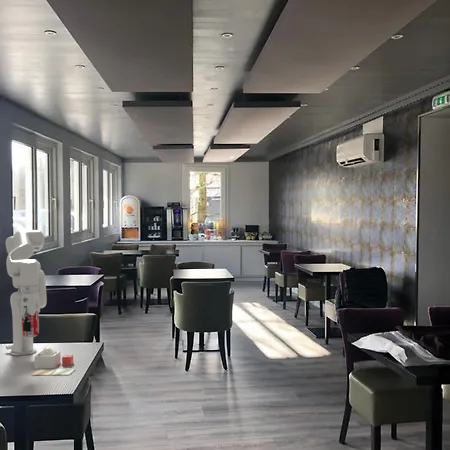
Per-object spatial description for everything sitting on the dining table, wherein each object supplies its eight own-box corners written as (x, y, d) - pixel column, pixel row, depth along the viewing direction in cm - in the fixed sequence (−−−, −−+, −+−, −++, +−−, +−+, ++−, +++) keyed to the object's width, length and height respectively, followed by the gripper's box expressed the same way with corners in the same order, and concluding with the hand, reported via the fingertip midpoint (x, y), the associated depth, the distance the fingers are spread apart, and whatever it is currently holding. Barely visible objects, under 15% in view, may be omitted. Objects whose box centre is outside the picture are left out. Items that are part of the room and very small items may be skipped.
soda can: (35, 333, 243) (34, 307, 242) (41, 336, 237) (41, 309, 237) (19, 336, 238) (19, 309, 237) (26, 338, 233) (25, 311, 232)
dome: (38, 360, 247) (38, 349, 247) (43, 356, 253) (43, 345, 253) (52, 360, 247) (52, 348, 246) (56, 356, 253) (56, 345, 253)
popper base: (34, 368, 245) (34, 356, 245) (41, 362, 254) (41, 351, 254) (54, 368, 245) (54, 356, 245) (60, 362, 254) (60, 351, 254)
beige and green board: (31, 375, 234) (31, 374, 234) (38, 370, 242) (38, 369, 242) (69, 375, 234) (69, 374, 234) (74, 369, 242) (74, 369, 242)
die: (62, 365, 249) (61, 356, 249) (64, 363, 253) (64, 354, 253) (70, 365, 249) (70, 356, 249) (73, 363, 253) (73, 354, 253)
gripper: (30, 292, 228) (31, 333, 229) (45, 286, 246) (46, 325, 246) (12, 292, 229) (13, 333, 229) (29, 286, 246) (30, 325, 246)
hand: (30, 328), depth 238 cm, fingers closed on soda can, 7 cm apart
